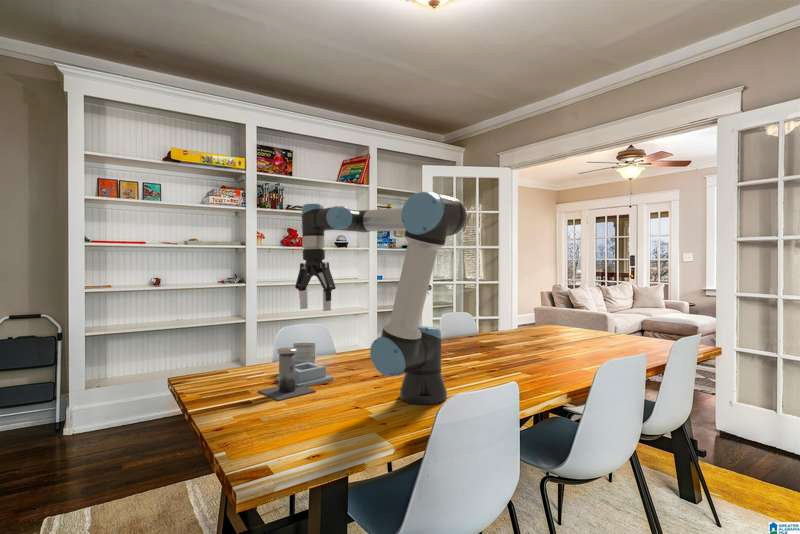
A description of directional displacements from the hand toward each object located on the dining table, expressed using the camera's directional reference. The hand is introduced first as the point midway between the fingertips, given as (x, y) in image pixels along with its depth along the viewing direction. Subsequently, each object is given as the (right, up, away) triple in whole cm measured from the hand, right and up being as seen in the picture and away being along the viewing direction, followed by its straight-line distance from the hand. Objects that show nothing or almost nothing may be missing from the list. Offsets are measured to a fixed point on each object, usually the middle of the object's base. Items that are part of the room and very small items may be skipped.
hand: (315, 309), depth 151 cm
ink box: (-9, -27, +24) cm, 37 cm away
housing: (-6, -27, +10) cm, 30 cm away
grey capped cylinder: (-9, -27, -4) cm, 29 cm away
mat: (-9, -27, -4) cm, 29 cm away
